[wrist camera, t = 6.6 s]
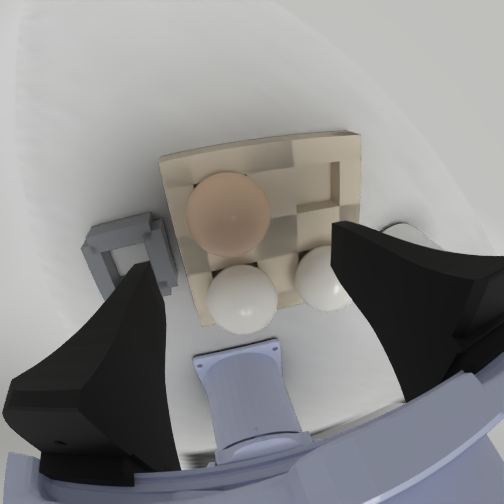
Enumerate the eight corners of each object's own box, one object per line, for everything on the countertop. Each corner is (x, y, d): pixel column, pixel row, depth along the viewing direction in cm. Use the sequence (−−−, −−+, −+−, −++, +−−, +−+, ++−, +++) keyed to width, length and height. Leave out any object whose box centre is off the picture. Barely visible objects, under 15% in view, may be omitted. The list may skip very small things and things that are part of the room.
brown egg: (255, 159, 16) (279, 179, 12) (261, 227, 18) (283, 263, 15) (178, 171, 15) (177, 195, 12) (192, 240, 18) (196, 281, 14)
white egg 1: (269, 296, 21) (288, 339, 18) (210, 310, 21) (219, 355, 17) (264, 245, 19) (285, 284, 15) (197, 259, 18) (203, 303, 15)
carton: (342, 276, 24) (352, 289, 22) (200, 310, 22) (202, 326, 21) (346, 130, 17) (361, 134, 16) (161, 156, 16) (158, 162, 14)
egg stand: (179, 279, 20) (179, 293, 19) (111, 293, 20) (107, 307, 18) (159, 209, 18) (158, 219, 16) (84, 228, 17) (77, 240, 15)
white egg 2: (340, 278, 22) (367, 314, 18) (287, 292, 22) (308, 333, 18) (343, 228, 20) (377, 261, 16) (284, 241, 19) (310, 278, 16)
